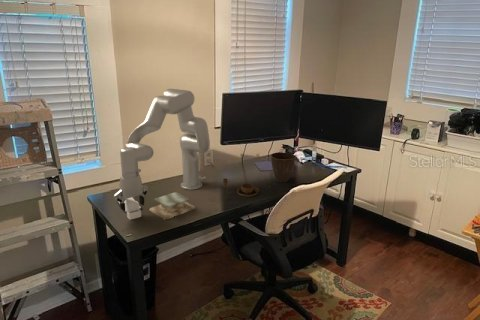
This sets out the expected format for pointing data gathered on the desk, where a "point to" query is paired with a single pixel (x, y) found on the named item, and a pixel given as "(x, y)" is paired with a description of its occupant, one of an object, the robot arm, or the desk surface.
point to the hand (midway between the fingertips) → (132, 207)
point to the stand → (171, 205)
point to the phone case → (125, 204)
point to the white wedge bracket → (132, 209)
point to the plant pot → (282, 165)
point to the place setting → (244, 189)
